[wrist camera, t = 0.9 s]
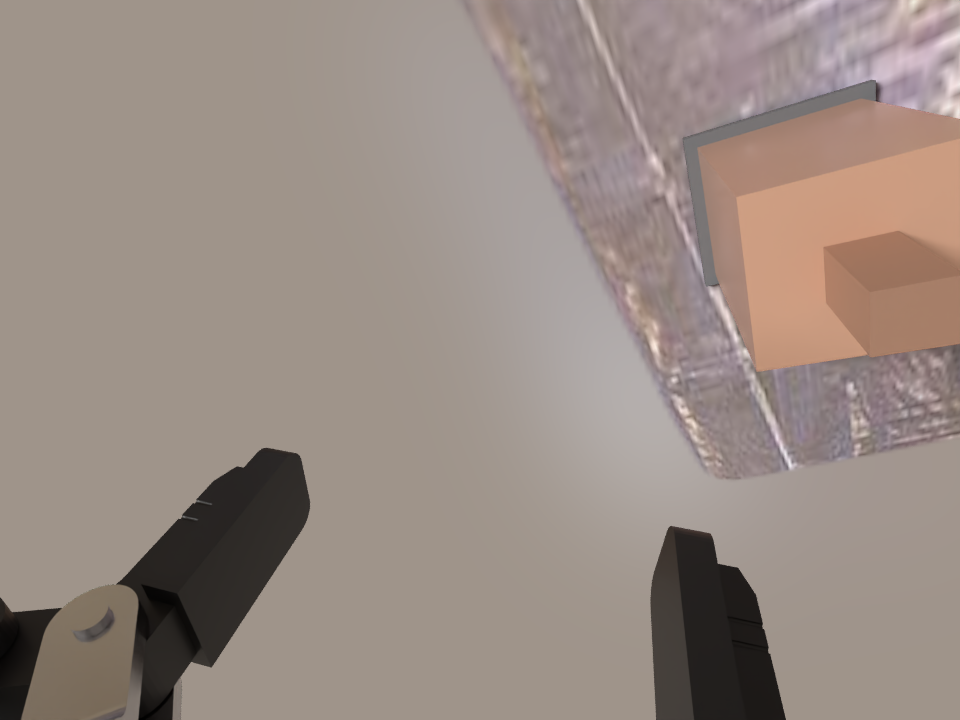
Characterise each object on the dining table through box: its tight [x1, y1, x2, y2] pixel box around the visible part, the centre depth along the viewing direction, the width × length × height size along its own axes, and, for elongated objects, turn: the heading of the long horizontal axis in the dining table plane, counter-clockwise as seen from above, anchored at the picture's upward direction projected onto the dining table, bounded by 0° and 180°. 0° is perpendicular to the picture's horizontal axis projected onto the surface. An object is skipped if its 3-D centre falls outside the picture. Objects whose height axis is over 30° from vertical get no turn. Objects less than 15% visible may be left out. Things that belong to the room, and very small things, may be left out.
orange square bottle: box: [697, 99, 960, 372], centre depth 25 cm, size 9×9×18 cm
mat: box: [683, 80, 876, 286], centre depth 33 cm, size 10×10×1 cm
